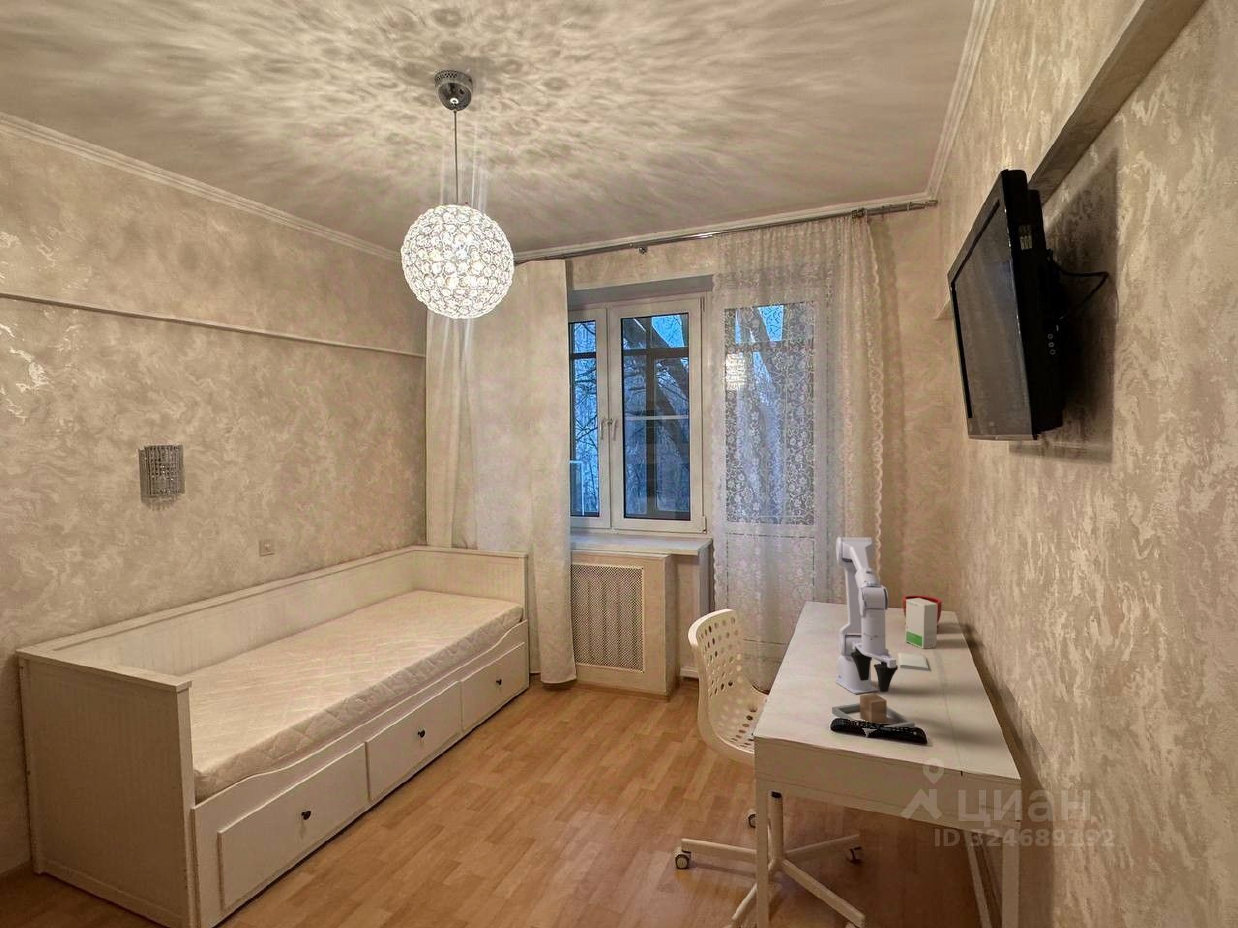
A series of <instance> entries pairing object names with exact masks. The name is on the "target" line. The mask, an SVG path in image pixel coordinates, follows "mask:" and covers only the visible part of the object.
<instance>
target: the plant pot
mask: <svg viewBox="0 0 1238 928" xmlns="http://www.w3.org/2000/svg"><path fill="white" fill-rule="evenodd" d="M915 598H921V599H924V600H928V601H930V602H933V603H936V604H938V609H937V631H938V630H940V626H939V625H938V623H939V622H940V620H941V617H942V616H941V614H942V605H943V604H942V601H941V599H939V598H936V597H931V596H925V595H906V596H903V598H902V609H903V615H904V618H905V619H906V600H907V599H915ZM904 625H905V627H906V621H905V623H904Z"/></svg>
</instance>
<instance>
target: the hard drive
mask: <svg viewBox="0 0 1238 928" xmlns="http://www.w3.org/2000/svg"><path fill="white" fill-rule="evenodd" d="M897 658H898V665H899V668H900V669H905V670H914V671H915V670H916V671H925V672H929V671H930V670H929V665H928V662H927V659H926V655H925V654H924V655H923V654H918V653H910V652H909V653H908V652H897Z"/></svg>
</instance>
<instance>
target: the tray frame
mask: <svg viewBox="0 0 1238 928" xmlns="http://www.w3.org/2000/svg"><path fill="white" fill-rule="evenodd" d="M858 711H859V712H860V702H859V703H852V704H851V703H850V704H846V705H845V704H844V705H840V706H832V707H831V713H832V715H835V716H836V717H838V718H839V717H840V718H844V719H848V720H850V721H855V722H858V721H857V720H856V719H854V718H853V717H851V716H850V715H848V714H847V713H852V712H853V713H854V712H858ZM887 716H888V717H890V718H892V719H893V720H895V721H897V722H898V723H893V724H888V725H883V726H884V727H909V728H915V729H916V727H915V724H916V723H914V722H913V721H912V720H910V719H909V718H907V717H905V716H903V715H902V714H900V713H898V712H897V711H895V710H893V709H892V708H890V707H888V706H887ZM840 718H839V719H840ZM870 728H871V727H870ZM870 728H867V727H866V728H862V729H863V730H864V732H865V734H866V736H865V737H866V738H869V737H868V735H869V733H871V732H873V731H875V730H877V729H870Z"/></svg>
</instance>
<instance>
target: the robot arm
mask: <svg viewBox="0 0 1238 928" xmlns="http://www.w3.org/2000/svg"><path fill="white" fill-rule="evenodd" d="M835 551H836V562H837V565H839V566H841V567H843V571H844V574H845V575H844V576H845V589H846V609H847V610H846V612H847V623H846V624H844V625H843V626H841V627H840V629H839V630H838V650H839V654H840V655H839V656H838V658H837V663H836V664H837V679H836V680H834V681H835V682H834V683H836V684H838V685H840V686H841V687H843V688H844V689H846V690H848V692H850V693H852V694H853V695H854V694H855V695H857V694H863V693H865V694H866V693H871V692H878V691H879V692H881V693H886V692H889V689H890V686H891V685H890V684H891V682H892V679H893V677H894V675H895V673H896V672H897V671H898V669H899V667H898V665H897V659H896V658H894V657H893V656H892V655H890V654H889V651H890V650H889V649H888V648H886V646H887V645H886V611H887V610H888V609H889V594H888V590H887V588H886V587H885V586H884V585H882V584H881V582H880V579H879V575H878V572H877V571H876V570H875V569H874V568H872V566H871V562H872V560H873V557H874V556H875V544H874V539H872V537H870V536H868V537H859V536H858V537H855V536H854V537H852V536H851V537H847V536H846V537H844V536H843V537H842V536H838V537H837V538H836V541H835ZM873 659H874V660H876V661H878V662H880V663H878V664H877V663H875V664H873V667H874V669H875V672H876V676H877V682H878V685H877V686H878V687H875V686H873V685H872V661H873Z"/></svg>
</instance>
